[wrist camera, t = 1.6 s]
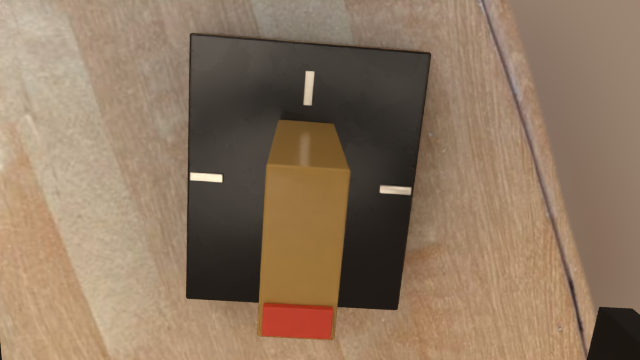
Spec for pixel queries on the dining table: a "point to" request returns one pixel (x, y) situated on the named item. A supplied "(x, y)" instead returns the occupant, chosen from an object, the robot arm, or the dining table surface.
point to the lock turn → (303, 231)
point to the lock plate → (255, 144)
